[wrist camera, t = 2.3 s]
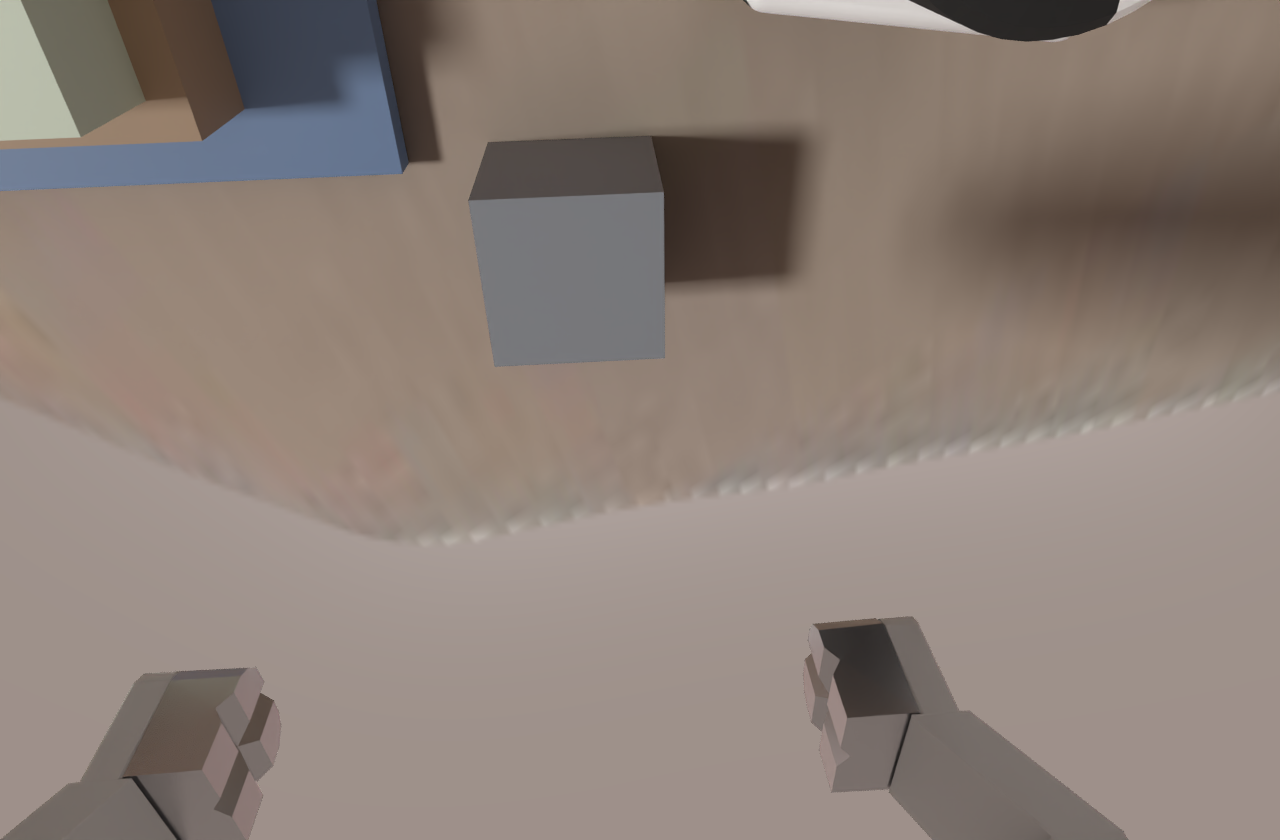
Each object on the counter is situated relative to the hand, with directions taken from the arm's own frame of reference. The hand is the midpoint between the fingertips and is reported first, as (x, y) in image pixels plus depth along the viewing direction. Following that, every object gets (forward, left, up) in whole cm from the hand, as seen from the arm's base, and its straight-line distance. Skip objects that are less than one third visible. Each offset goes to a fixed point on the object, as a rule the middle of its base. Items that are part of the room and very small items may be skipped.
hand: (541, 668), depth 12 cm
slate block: (0, 0, -17) cm, 17 cm away
